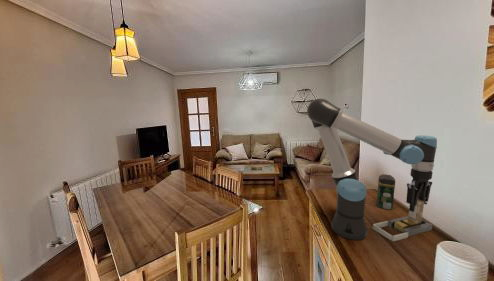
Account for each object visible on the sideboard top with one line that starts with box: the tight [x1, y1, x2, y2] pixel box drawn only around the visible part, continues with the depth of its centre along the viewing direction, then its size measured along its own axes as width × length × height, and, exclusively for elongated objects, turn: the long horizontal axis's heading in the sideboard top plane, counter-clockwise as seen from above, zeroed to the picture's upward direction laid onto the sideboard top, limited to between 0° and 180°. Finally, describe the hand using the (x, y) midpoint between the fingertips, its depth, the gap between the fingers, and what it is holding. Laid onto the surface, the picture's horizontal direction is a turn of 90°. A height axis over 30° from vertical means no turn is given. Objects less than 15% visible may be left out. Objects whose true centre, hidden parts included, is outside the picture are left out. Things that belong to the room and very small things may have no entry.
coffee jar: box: [376, 173, 396, 210], centre depth 116 cm, size 10×8×19 cm
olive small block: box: [402, 219, 416, 228], centre depth 95 cm, size 3×4×3 cm
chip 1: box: [394, 221, 408, 233], centre depth 94 cm, size 3×4×3 cm
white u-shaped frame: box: [371, 220, 409, 242], centre depth 92 cm, size 9×10×2 cm
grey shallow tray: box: [387, 215, 433, 237], centre depth 96 cm, size 16×9×3 cm, turn 107°
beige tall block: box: [407, 199, 425, 226], centre depth 96 cm, size 4×4×13 cm
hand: (415, 216), depth 96 cm, fingers closed on beige tall block, 4 cm apart
